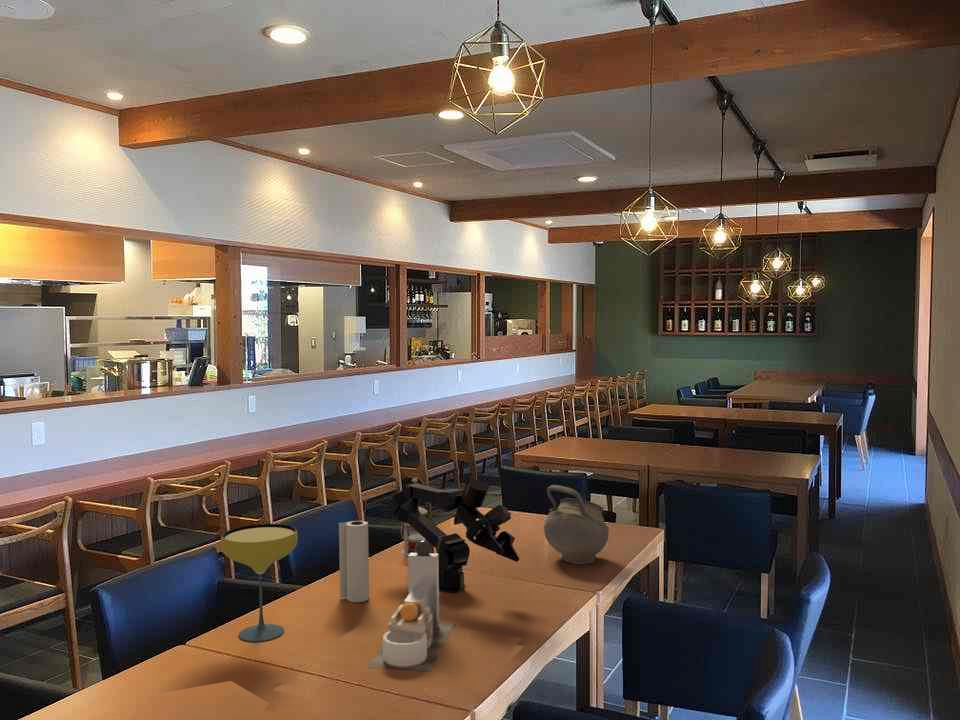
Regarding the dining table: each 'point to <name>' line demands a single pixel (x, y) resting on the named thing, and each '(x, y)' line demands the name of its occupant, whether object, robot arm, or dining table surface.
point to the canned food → (414, 540)
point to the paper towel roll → (354, 561)
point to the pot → (575, 527)
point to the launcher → (418, 625)
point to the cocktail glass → (259, 563)
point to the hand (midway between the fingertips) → (510, 556)
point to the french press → (410, 528)
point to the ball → (409, 611)
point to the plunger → (424, 580)
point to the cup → (404, 648)
